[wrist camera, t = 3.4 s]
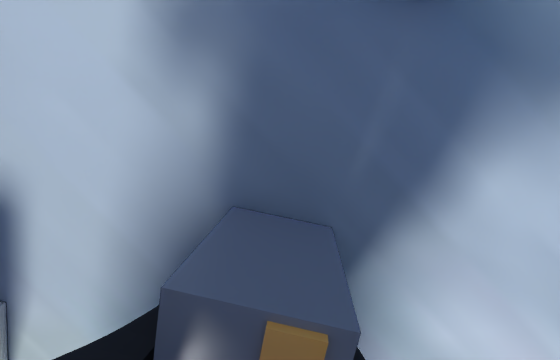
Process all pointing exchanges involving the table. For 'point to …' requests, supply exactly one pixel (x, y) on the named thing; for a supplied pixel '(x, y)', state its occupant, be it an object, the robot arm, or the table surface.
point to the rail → (3, 332)
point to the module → (259, 295)
